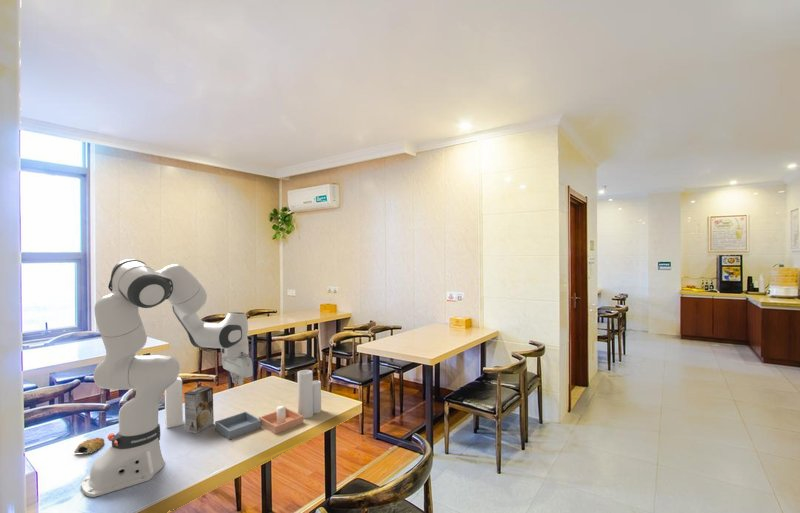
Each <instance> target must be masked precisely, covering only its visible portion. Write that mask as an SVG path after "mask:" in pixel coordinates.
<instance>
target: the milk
mask: <svg viewBox="0 0 800 513" xmlns="http://www.w3.org/2000/svg"><path fill="white" fill-rule="evenodd" d="M183 413H184V411H183V380H182V378H181V377H180V376H178V378H177V379H176V381H175V382H174V383H173V384H172V385H170V386H169V387H168V388H167V389H166V390H165V391H164V419H165V420H164V424H165V426H166V429H168V428H174V427H178V426H181V425H183V424H184V417H183V416H184V415H183Z"/></svg>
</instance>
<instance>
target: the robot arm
mask: <svg viewBox="0 0 800 513" xmlns="http://www.w3.org/2000/svg"><path fill="white" fill-rule="evenodd" d="M107 287H108V289H109V291H110V293H109V294H107V295H106V294H105V295H104V296H102V297H100V298H99V299H98V300H97V301H96V303H95V305H94V316H95V321H96V326H97V330H98V332H99V334H100V337H101V339H102V340H101V341H102V342H103V345H104V349H105V357H104V359H102V360H101V361H100V362H99V363H98V364H96V367H95V368H94V371H93V374H92V375H93V376H92V377H93V381H94V383H95V385H96V386H97V387H98V388H101V389H106V390H112V391H116V390H117V391H119V390H121V391H122V390H135V395H134V397H132V398H131V399H130V400H128V401H126V402H125V403H124V404H122V406H121V407H120V409H119V411H118V432H117V433H116V434H115V433H113V432H111V433H109V434H108V435H107V439H108V441H109V442H111V446H110V447H109V448H108V449H106V451H104V452H103V453H102V454H101V455H100V456H99V457H98V458H96V459H95V460H94V461H93V463H92V465H91V468H90V472H89V475H87V476H85V477H84V478H83V479H82V481H81V484H80V489H81V492H82V493H83V495H84V496H87V497H90V498H95V497H99V496H103V495H106V494H109V493H111V492H115V491H118V490H122V489H126V488H130V487H131V486H135V485H139V484H142V483H145V482H147V481H148V482H149V481H150V480H152V479H153V477H154V476H155V474H156V473H158V472H159V471H160V470H162V468H163V467H164V466H165V460H164V457H163V454H162V450H161V443H160V440H161V425H160V423H159V406H160V401H161V399H162V396H163V394H165V390H166V389H167V388H168V387H169V386H170V385H172V384H173V383H174V382H175V381H176V379H177V378H178V377H180V373H181V366H180V363H179V361H178V359H177V358H176V357H174V356H170V355H163V354H143V355H141V354H140V355H139V354H137V353H138V352H140V351H141V350H142V349H143V348H145V346H146V343H147V339H148V335H147V333H146V330H145V327H144V325H143V321H142V318H141V316H140V314H139V308H142V309H151V308H155V307H157V306H159V305H160V304H162V303H163V302H164V301H165V300H167V301H169V303H170V304H171V305H172V311H173V313H174V315H175V317H176V319H177V320H178V321H179V323H180V324H181V326H182V327H183V328H184V330H185V332H186V333H187V337H188V338H189V342H190V343H191V345H192V346H194V347H195V348H197V349H198V348H199V349H200V348H203V349H205V348H212V349H220V354H221V364H222V368H223V369H224V370H226V371H227V372H229V373H230V376H231V381H232V383H233V384H237V386H239V387H240V386H243V385H244V380H245V379H247V378H251V377H253V375H254V373H253V372H254V369H253V368H254V367H253V361H252V358H251V357H250V356H249V339H248V334H249V323H248V316H247V314H246V313H245V312H237V311H230V312H227V313H226V316H225V318H224V319H223V320H222V321H220V322H219V323H218V322H217V323H216V322H208V321H204V320H201V319H200V317H199V316H198V312H199V311H201V309H202V308H203V307H204V306H205V304H206V302H207V298H208V295H207V294H208V293H207V292H206V291H207V290H205V288H204V286H203V285H202V284H201V282H200V281H199V280H198V278H196V277H195V276H194V275H193V274H192V273H191V272H190V271H189V270H188V269H187V268H185V267H184V266H183V265H181V264H175V263H174V264H169V265H166V266H164V267H163V268H162V269H160V270H154V268H152V267H151V266H149V265H147V264H146V262H144V261H141V260H138V259H134V258H128V259H122V260H121V261H119V262H117V263H116V264H115V265H114V266H113V268H112V270H111V274H110V280H109V283H108V286H107Z"/></svg>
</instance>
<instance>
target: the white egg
mask: <svg viewBox="0 0 800 513" xmlns="http://www.w3.org/2000/svg"><path fill="white" fill-rule="evenodd" d="M285 408H286V406H285V405H279V406H277V407H276V411H277V425H279V424H282V423H285V422H286V409H285Z"/></svg>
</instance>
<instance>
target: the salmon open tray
mask: <svg viewBox="0 0 800 513" xmlns="http://www.w3.org/2000/svg"><path fill="white" fill-rule="evenodd" d="M285 409H286V422H285V423H282V424H279V425H277V410H276V411H274V412H270V413H268V414H264V415H262V416H259V417H258V419H260V420H261V428H262V427H263V428H264V429H266V430H267V431H269V432H270V433H273V434H274V435H278V434H279V433H282V432H284V431H287V430H290V429H292V428H294V427H295V428H296V427H297V426H299V425H303V424H304V419H303V416H302V415H300V414H298V412H296V411H294V410H292V409H290V408H288V407H285Z"/></svg>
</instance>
